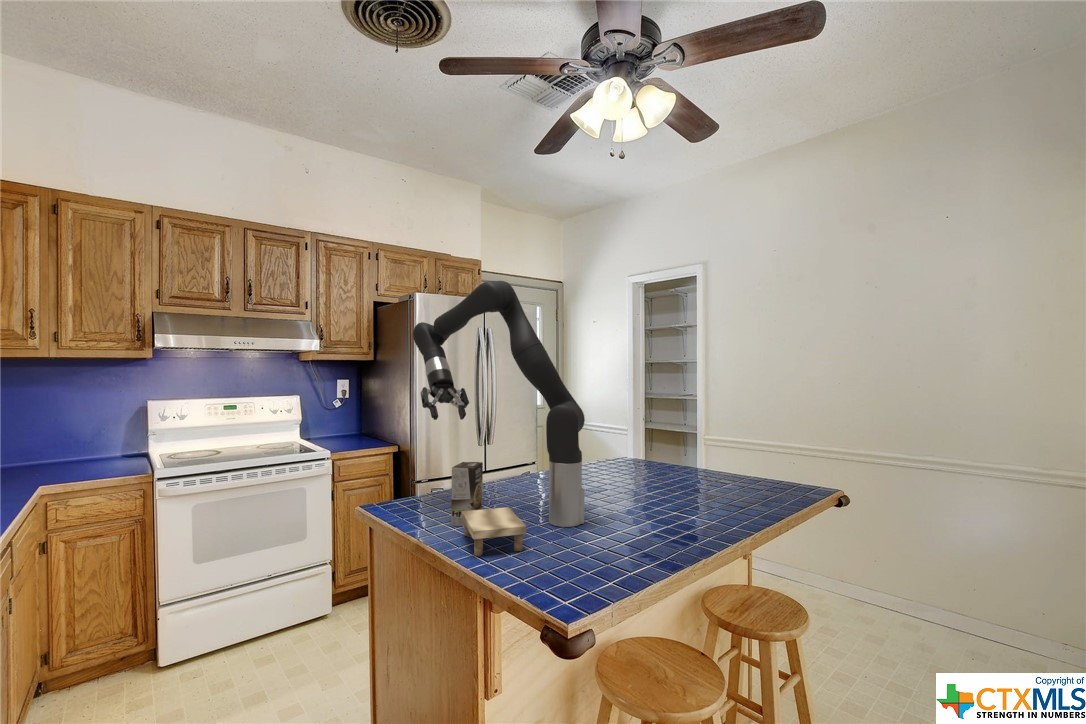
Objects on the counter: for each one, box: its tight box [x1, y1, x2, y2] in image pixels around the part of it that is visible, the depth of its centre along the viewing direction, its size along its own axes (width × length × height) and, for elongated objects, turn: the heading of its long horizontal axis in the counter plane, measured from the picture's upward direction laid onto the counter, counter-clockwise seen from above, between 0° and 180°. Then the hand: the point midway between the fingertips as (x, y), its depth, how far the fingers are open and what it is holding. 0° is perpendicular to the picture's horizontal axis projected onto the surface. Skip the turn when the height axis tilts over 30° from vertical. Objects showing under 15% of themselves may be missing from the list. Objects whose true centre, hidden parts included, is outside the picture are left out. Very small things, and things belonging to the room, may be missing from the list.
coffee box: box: [450, 461, 484, 527], centre depth 141 cm, size 9×6×16 cm
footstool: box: [462, 506, 527, 557], centre depth 124 cm, size 13×17×6 cm
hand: (449, 418), depth 150 cm, fingers open, 8 cm apart
